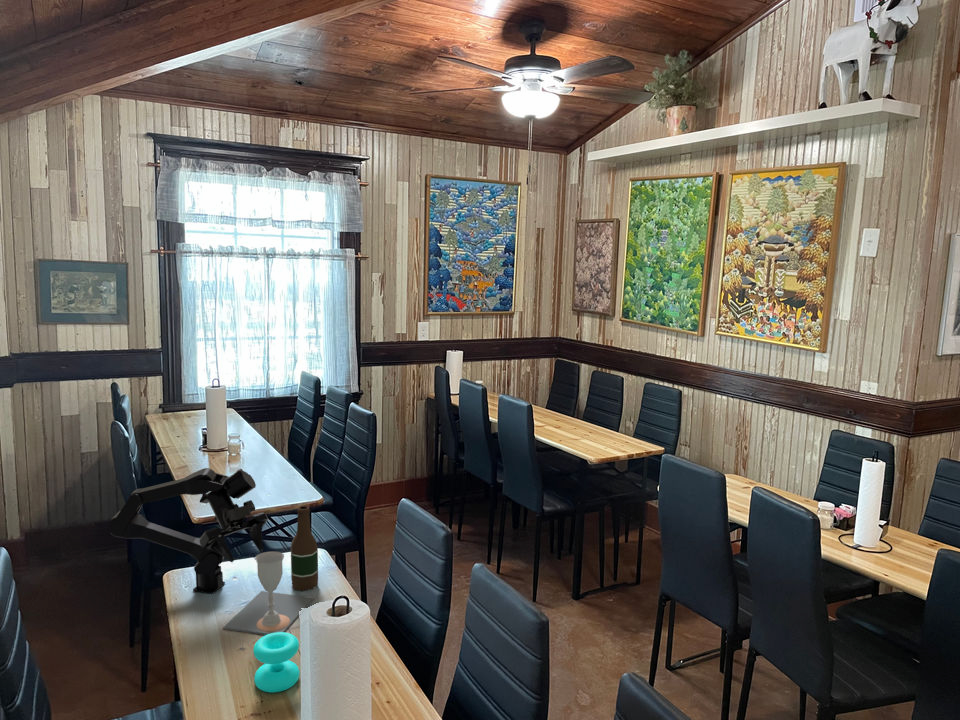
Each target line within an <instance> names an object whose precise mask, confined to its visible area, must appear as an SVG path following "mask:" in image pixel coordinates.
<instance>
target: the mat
mask: <svg viewBox="0 0 960 720" xmlns="http://www.w3.org/2000/svg"><path fill="white" fill-rule="evenodd" d="M268 596H269V592H268V591H265V590H261V591H260V592H259V593H258V594H257V595H256V596H255V597H253V598H252V599H251V600H250V601H249V602H248V604H246V605H245V606H244V607H243V608H242V609H241V610H240V611H238V612H237V614H236V615H235V616H233V617H232V618H231V619H230V620H229V621H228V622H227V623H226V624H225V625H224V626H223V628H222V630H226V629H227V630H226V631H233V630H234V631H236V632H242V633H249V634H255V635H263V636H265V635H268V634H271V633H275V632H286V631H288V629H289V628H290V627H291V626H292V625H293V624H294V622H295V621H296V620H297V619H298V618H299V617H300V615H299V611H301V610H302V609H301V608H306V607H307V608H308V606H309V605H311V603H312V602H313V601H314V600H315V598H314V597H311V596H305V595H303V596H302V595H296V594H295V595H294V594H288V593H280V592H274V591H273V596H274V598H273V603H274V605H273V610H274V611H276V612H277V613H278V614H279V616H280V618H281V622H280V623H279V624H278V625H275V626H264V625H262V623H261V622H262V620H263V617H264V615H265V614H266V612H268V611H269V606H268V605H267V604H268V603H269V599H268ZM310 602H311V603H310ZM307 608H306V609H307ZM297 617H298V618H297Z"/></svg>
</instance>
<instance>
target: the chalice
mask: <svg viewBox="0 0 960 720" xmlns="http://www.w3.org/2000/svg"><path fill="white" fill-rule="evenodd" d="M284 558H285V554H284V553H282V552H280V551H266V552H265V551H264V552H260V553H259V554H257V555H256V556H255V557H254V559H255V561H256V563H257V566H256V567H257V578H258V580H259V582H260V584H261V587H263V589H264V591H266V592H269V596H268V599H269V603H268V604H267V605H268V606H269V611H268V612H266V614H265V615H264V617H263V620H262V622H261V623H262V625H264V626H275V625H278V624H279V623H280V622H281V618H280V616H279V614H278V613H277V612H276V611H274V610H273V605H274V603H273V598H274V596H273V592H274V591H276V590H277V588H278V586H279V585H280V582H281V580H282V577H283V574H284V573H283V572H284V571H283V560H284Z"/></svg>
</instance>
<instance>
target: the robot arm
mask: <svg viewBox="0 0 960 720" xmlns="http://www.w3.org/2000/svg"><path fill="white" fill-rule="evenodd" d="M256 486H257V484H256V482H255V480H254V478H253V477H252V475H251V474H250V473H248V472H246V471H244V470H243V469H242V468H238V469H237V470H236V472H234V473H233V474H232V475H230V476H229V475H224V474H221V473H218V472H215V470H213V469H212V468H210V467H206V468H205V467H204V468H201V469H199V470H197V471H195V472H192V473H191V474H188V475H187V476H185V477H182V478H180V479H175V480H172V481H167V482H163V483H159V484H155V485H152V486H147V487H144V488H143V487H142V488H136V489H135V490H133V492H132V493H131V494H129V496H128V499H127V500H126V502H125V504H124V505H123V507H122V508H121V509H120V510H119V511H118V512H117V513H116V514H115V515H114V516H113V517H112V518H111V519H110V520H109V522H108V526H107V527H108V528H107V529H108V531H109V533H110V534H111V536H113V537H116V538H123V539H143V540H147V541H148V542H151V543H154V544H155V543H156V544H158V545H161V546H164V547H166V548H170V549H173V550H175V551H176V550H177V551H180V552H183V553H185V554H189V555H190V556H191V557H192V558H194V559H195V560H196V561H197V562H196V563H195V565H194V567H193V570H194V572H195V587H194V588H193V589H192V591H193V592H197V593H205V594H206V593H207V594H215V593H216V592H217V591H218V590H219V589H220V588H222V587H223V586H224V585H225V584H226V582H225V581H224V576H223V571H222V566H221V564H222V562H223V561H224V559H225V560H227V561H229V562H230V563H233V562H234V560H235V559H234V557H233V555H232V552H231V550H230V549H229V547H228V545H227V542H226V536H229V535H231V534H235V533H237V532H238V533H239V532H240V531H243V530H247V531H249V534H248V535H249V537H250V538H251V540H252V541H253V543H254V545H255V546H256V548H257V549H258V550H259V551H260V552H263V551H264V544H263V542H264V541H263V527H264V526H265V525H266V523H267V522H268V521H269V518H268V517H269V516H268V515H267V514H266V513H265V512H259V513H258V512H257V513H255V514H252V512H255V511H256V507H255V504H254V502H253V501H252V500H247V501H244V502H243V505H242V506H239V504H237V503H234V502H233V500H232V499H234V500H235V499H238V500H239V499H241V498H242V497H244V496H245V495H247V494H248V493H249V492H251V491H253V490H254V489H255V488H256ZM183 495H189V496H195V495H196V496H197V495H201V497H200V499H199V503H201V504H209V506H210V507H211V510H212V512H213V513H214V515H215V516H214V517H213V520H214V521H215V522H218V524H219V526H220V527H219V526H216V527H213V528H210V529H206V530H205V531H204V532H203V534H202V535H201V536H200V537H196V536H192V535H189V534H186V533H182V532H180V531H176V530H174V529H171V528H168V527H165V526H163V525H158V524H157V523H153V522H151V521H148V520H147V519H146V517H145V516H143V514H141V513H139V512H140V510H141V508H142V506H143V505H146V504H149V503H153V502H157V501H158V502H159V501H162V500H167V499H170V498H173V497H177V496H183ZM247 517H249V519H248V520H247V521H245V520H246V519H247Z"/></svg>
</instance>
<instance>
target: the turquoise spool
mask: <svg viewBox="0 0 960 720" xmlns="http://www.w3.org/2000/svg"><path fill="white" fill-rule="evenodd" d="M299 649H300V641H299V639H298V638H297V637H296V636H295V635H294V634H292V633H290V632H286V631H285V632H275V633H271V634H268V635H263V636H262V637H260V638H259V639H258V640H257V641H256V642H255V644H254V646H253V656H254V657H255V659H257V660H258V661H259V662H260V663H263V664H262V665H261V666H260V667H259V668H258V669H257V670H256V671H255V674H254V678H253V680H254V684H255V686H256V688H258V689H259V690H260V691H262V692H266V693H280V692H284V691H286V690H288V689H291V688H292V687H293V686H294V685H295V684H296V683H297V682H298V681H299V678H300V668H299V666H298V665H297V664H296V663H295V662H294V661H291V659H292V658H294V657H295V656H296V654H297V653H298V651H299Z"/></svg>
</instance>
